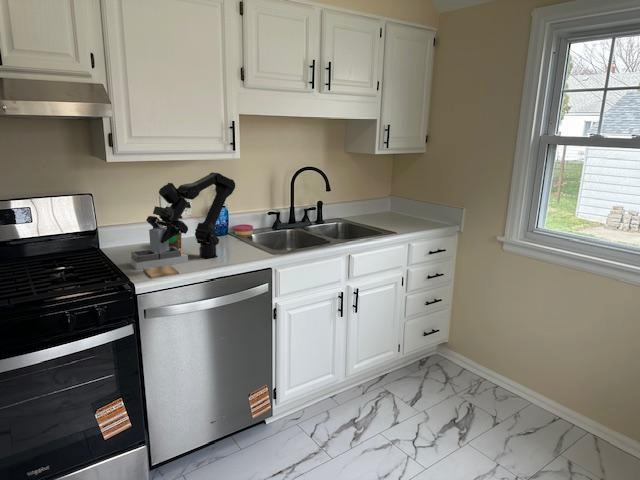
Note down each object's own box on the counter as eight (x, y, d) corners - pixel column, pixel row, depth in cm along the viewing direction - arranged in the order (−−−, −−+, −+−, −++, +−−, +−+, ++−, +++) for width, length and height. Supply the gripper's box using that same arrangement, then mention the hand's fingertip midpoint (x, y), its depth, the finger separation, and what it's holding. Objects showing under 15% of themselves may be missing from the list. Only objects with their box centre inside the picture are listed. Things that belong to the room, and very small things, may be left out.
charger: (159, 248, 191) (158, 227, 189) (169, 250, 189) (167, 228, 187) (150, 251, 187) (149, 229, 185) (159, 253, 185) (158, 231, 182)
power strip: (180, 257, 212) (180, 245, 211) (188, 262, 205) (187, 250, 204) (130, 264, 199) (129, 252, 198) (136, 269, 192) (135, 257, 191)
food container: (156, 247, 228) (155, 227, 226) (166, 244, 233) (165, 225, 231) (172, 251, 221) (171, 230, 219) (183, 248, 226) (182, 228, 224)
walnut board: (170, 266, 198) (169, 265, 197) (178, 273, 189) (178, 271, 189) (143, 270, 191) (143, 269, 191) (151, 278, 183) (151, 276, 182)
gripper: (148, 196, 191) (127, 227, 184) (181, 200, 182) (161, 233, 175) (164, 212, 199) (145, 242, 193) (196, 217, 190) (177, 249, 184)
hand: (156, 241), depth 186 cm, fingers closed on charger, 5 cm apart
